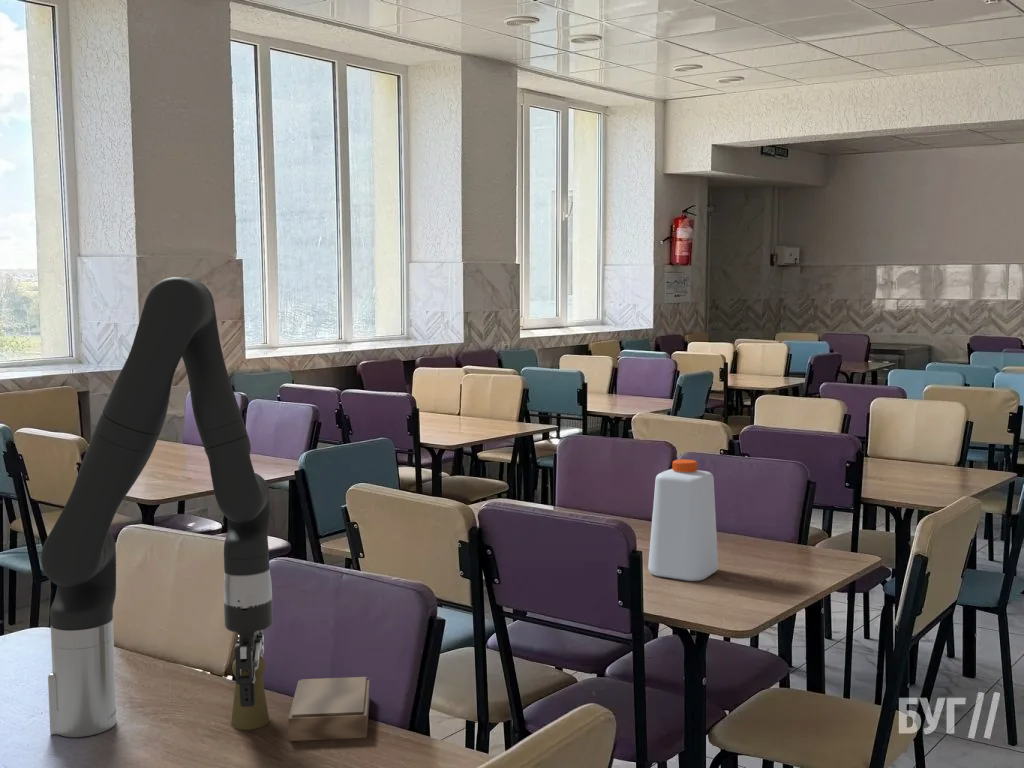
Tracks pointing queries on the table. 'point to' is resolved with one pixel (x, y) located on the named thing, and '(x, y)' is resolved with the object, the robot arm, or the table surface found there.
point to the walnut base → (329, 709)
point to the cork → (255, 714)
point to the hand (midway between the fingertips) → (251, 695)
